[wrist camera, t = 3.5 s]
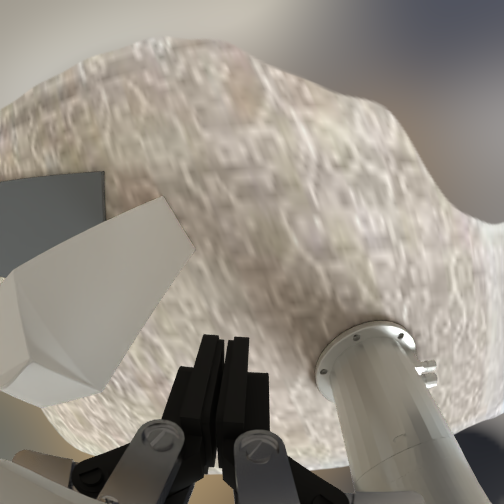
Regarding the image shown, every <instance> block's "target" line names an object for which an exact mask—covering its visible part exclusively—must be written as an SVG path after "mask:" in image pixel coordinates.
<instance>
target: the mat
mask: <svg viewBox="0 0 504 504" xmlns="http://www.w3.org/2000/svg"><path fill="white" fill-rule="evenodd" d="M104 221H106V215H105V192H104V171H100V172H85V173H72V174H61V175H50V176H41V177H32V178H24V179H17V180H10V181H3V182H0V277H5V278H6V277H7V276H8V275H9V274H10V273H11V272H12V270H14V269H15V268H17V267H19V266H20V265H22V264H24V263H25V262H27V261H29V260H31V259H33V258H34V257H36V256H38V255H40V254H42V253H43V252H45V251H47V250H49V249H51V248H53V247H55V246H56V245H58V244H60V243H62V242H64V241H66V240H68V239H70V238H72V237H74V236H76V235H78V234H80V233H82V232H84V231H86V230H88V229H90V228H92V227H94V226H96V225H98V224H100V223H102V222H104Z"/></svg>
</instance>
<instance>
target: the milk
mask: <svg viewBox="0 0 504 504" xmlns="http://www.w3.org/2000/svg"><path fill="white" fill-rule="evenodd" d="M194 251H195V247H194V246H193V244H192V242H191V241H190V239H189V237H188V236H187V234H186V233H185V231H184V229H183V228H182V226H181V224H180V223H179V221H178V219H177V218H176V216H175V214H174V213H173V211H172V209H171V208H170V206H169V204H168V203H167V201H166V199H165V198H164V196H161V197H159V198H156V199H154V200H151V201H149V202H147V203H144V204H142V205H140V206H137V207H135V208H133V209H131V210H128V211H126V212H124V213H122V214H120V215H117V216H115V217H113V218H111V219H109V220H107V221H104V222H102V223H100V224H98V225H96V226H94V227H92V228H90V229H88V230H86V231H84V232H82V233H80V234H78V235H76V236H74V237H72V238H70V239H68V240H66V241H64V242H62V243H60V244H58V245H56V246H55V247H53V248H51V249H49V250H47V251H45V252H43V253H42V254H40V255H38V256H36V257H34V258H33V259H31V260H29V261H27V262H25V263H24V264H22V265H20V266H19V267H17V268H15V269H14V270H12V272H11V273H10V274H9V275H8V276H7V277H6V278H5V280H4V281H3V282H2V283H1V284H0V391H3V392H5V393H7V394H9V395H11V396H14V397H16V398H18V399H20V400H23V401H25V402H28V403H30V404H32V405H35V406H37V407H40V408H45V407H49V406H53V405H57V404H61V403H65V402H69V401H73V400H76V399H80V398H84V397H87V396H91V395H94V394H98V393H101V392H102V391H103V390H104V388H105V387H106V385H107V384H108V382H109V380H110V379H111V377H112V375H113V374H114V372H115V370H116V369H117V367H118V366H119V364H120V362H121V361H122V359H123V358H124V356H125V354H126V353H127V351H128V350H129V348H130V346H131V345H132V343H133V342H134V340H135V339H136V337H137V335H138V334H139V332H140V331H141V329H142V328H143V326H144V325H145V323H146V322H147V320H148V319H149V317H150V316H151V314H152V312H153V311H154V309H155V308H156V306H157V305H158V303H159V302H160V300H161V299H162V298H163V296H164V295H165V293H166V292H167V290H168V289H169V287H170V286H171V284H172V283H173V281H174V280H175V278H176V277H177V275H178V274H179V273H180V271H181V270H182V268H183V267H184V265H185V264H186V262H187V261H188V260H189V258H190V257H191V255H192V254H193V253H194Z"/></svg>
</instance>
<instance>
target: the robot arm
mask: <svg viewBox="0 0 504 504" xmlns="http://www.w3.org/2000/svg"><path fill="white" fill-rule="evenodd" d="M248 353H249V337H234V340H228V346H227V352H226V358H225V364H224V340H221V339H219V336H218V335H207V334H204V335H203V338H202V341H201V344H200V348H199V351H198V354H197V358H196V361H195V365H194V368H193V367H184V366H180V367H179V370H178V372H177V375H176V378H175V381H174V384H173V387H172V390H171V392H170V395H169V398H168V401H167V404H166V407H165V410H164V413H163V416H162V419H158V420H152V421H149V422H147V423H145V424H143V425H142V426H141V427H140V428H139V430H138V431H137V433H136V434H135V436H134V438H133V439H132V441H131V443H129V444H126V445H124V446H121V447H119V448H116V449H114V450H111V451H108V452H106V453H103V454H100V455H98V456H95V457H92V458H89V459H87V460H84V461H82V462H80V463H78V462H74V461H73V459H68V458H61V457H57V456H53V455H48V454H43V453H39V452H36V451H31V450H21V451H19V452H18V453H16V454H15V456H14V457H13V459H12V462H10V461H7V460H4V459H1V458H0V504H188V502H189V499H190V496H191V494H192V491H193V489H194V485H195V482H197V481H199V480H200V479H202V478H203V477H204V474H208V468H209V467H214V466H215V459H216V452H217V451H218V464H219V468H222V472H223V480H224V481H225V482H226V483H227V484H228V485H229V486H230V487H232V488H233V492H234V501H235V504H491V503H490V501H489V499H488V498H487V496H486V494H485V493H484V491H483V489H482V488H481V486H480V485H479V483H478V481H477V479H476V477H475V475H474V474H473V472H472V470H471V468H470V466H469V464H468V462H467V461H466V459H465V457H464V455H463V453H462V451H461V449H460V447H459V445H458V443H457V441H456V439H455V437H454V435H453V433H452V431H451V429H450V428H449V426H448V424H447V422H446V420H445V418H444V416H443V415H442V413H441V411H440V409H439V407H438V406H437V404H436V402H435V400H434V399H433V397H432V395H431V393H430V392H429V390H428V388H431V387H435V386H436V384H437V375H436V374H435V373H428V374H422V375H420V374H421V372H429V371H434V370H435V369H436V362H435V360H430V361H424V362H421V361H419V360H418V359H417V357H416V346H415V342H414V340H413V338H412V336H411V335H410V334H409V332H408V331H407V330H406V329H405V328H404V327H402V326H401V325H399V324H396V323H394V322H389V321H373V322H368V323H364V324H361V325H358V326H355V327H353V328H351V329H349V330H347V331H345V332H344V333H342V334H341V335H339V336H338V337H336V338H335V339H334V340H333V341H332V342H331V343H330V344H329V345H328V346H327V347H326V348H325V350H324V351H323V352H322V354H321V356H320V357H319V359H318V361H317V365H316V368H315V379H316V384H317V387H318V390H319V391H320V393H321V394H322V395H323V396H324V397H325V398H326V399H328V400H329V401H331V402H333V403H335V405H336V409H337V413H338V417H339V421H340V426H341V430H342V434H343V439H344V443H345V448H346V452H347V457H348V461H349V466H350V471H351V475H352V480H353V485H354V490H355V492H354V493H343V492H342V491H341V490H339V489H338V488H336V487H334V486H333V485H331V484H329V483H328V482H326V481H325V480H323V479H321V478H320V477H318V476H317V475H315V474H314V473H312V472H311V471H309V470H308V469H306V468H305V467H303V466H302V465H300V464H299V463H297V462H296V461H294V460H293V459H292V458H290V457H289V456H287V452H286V448H285V445H284V443H283V441H282V439H281V438H280V437H279V436H278V435H276V434H274V433H272V432H270V415H269V374H268V373H254V372H247V371H248Z"/></svg>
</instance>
